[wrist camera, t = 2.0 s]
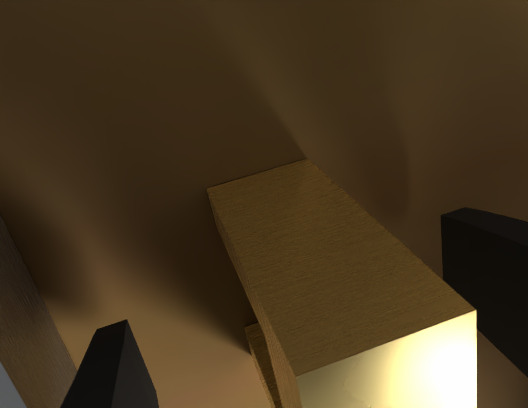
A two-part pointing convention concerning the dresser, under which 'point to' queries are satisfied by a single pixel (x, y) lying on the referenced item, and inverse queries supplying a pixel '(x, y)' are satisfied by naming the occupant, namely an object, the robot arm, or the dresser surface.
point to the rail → (28, 339)
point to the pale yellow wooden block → (341, 300)
